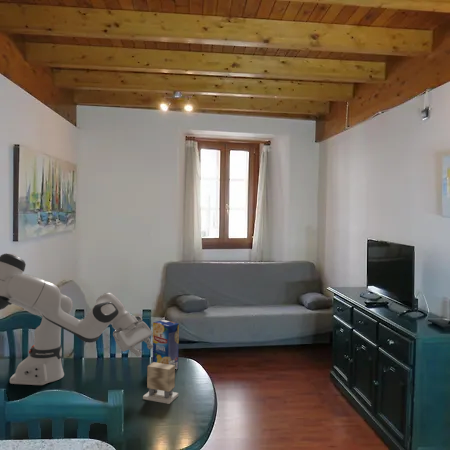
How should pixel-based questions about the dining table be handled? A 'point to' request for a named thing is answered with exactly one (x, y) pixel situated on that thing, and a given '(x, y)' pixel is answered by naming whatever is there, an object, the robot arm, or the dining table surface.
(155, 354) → the beverage box
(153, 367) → the tan wooden block
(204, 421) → the dining table surface
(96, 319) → the robot arm
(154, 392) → the peg stand
